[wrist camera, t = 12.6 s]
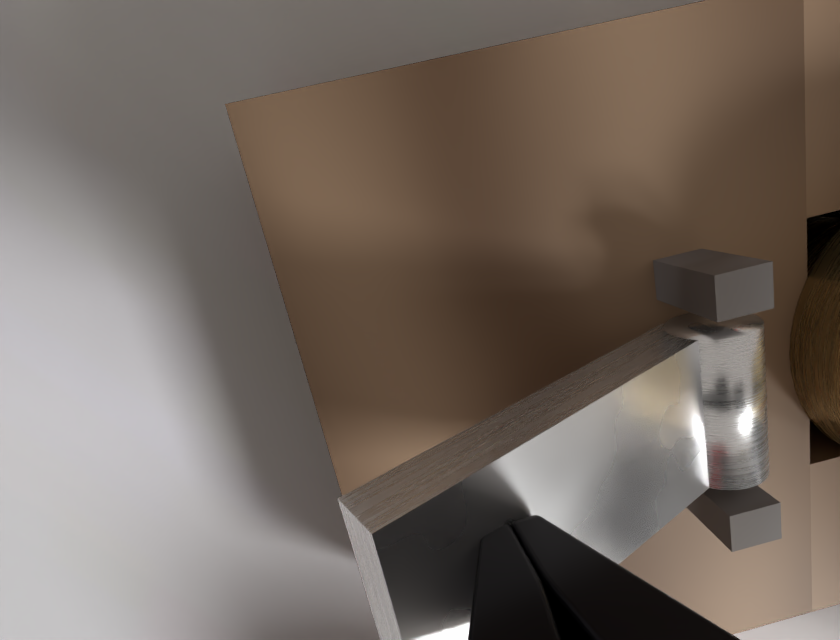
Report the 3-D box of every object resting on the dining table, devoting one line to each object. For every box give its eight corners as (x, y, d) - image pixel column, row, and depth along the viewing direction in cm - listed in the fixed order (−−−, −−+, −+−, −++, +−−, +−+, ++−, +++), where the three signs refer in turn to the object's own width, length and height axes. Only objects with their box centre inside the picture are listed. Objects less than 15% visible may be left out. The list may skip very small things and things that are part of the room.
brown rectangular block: (917, -8, 14) (1389, -172, 8) (899, 438, 18) (1209, 583, 11) (273, 133, 13) (190, 82, 7) (396, 573, 17) (419, 814, 10)
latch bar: (693, 306, 11) (781, 315, 9) (704, 436, 11) (785, 461, 10) (337, 498, 7) (397, 560, 5) (389, 673, 8) (454, 765, 6)
